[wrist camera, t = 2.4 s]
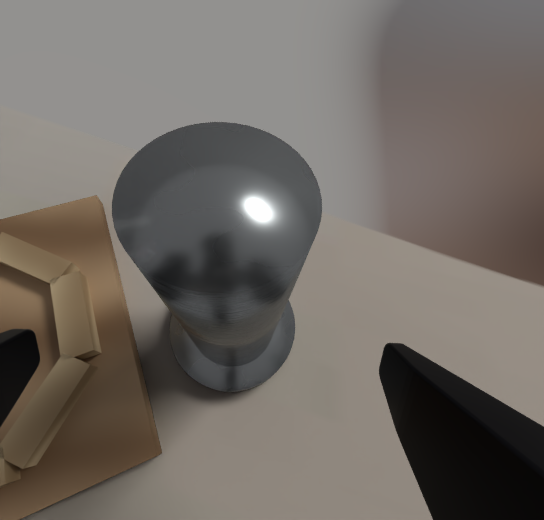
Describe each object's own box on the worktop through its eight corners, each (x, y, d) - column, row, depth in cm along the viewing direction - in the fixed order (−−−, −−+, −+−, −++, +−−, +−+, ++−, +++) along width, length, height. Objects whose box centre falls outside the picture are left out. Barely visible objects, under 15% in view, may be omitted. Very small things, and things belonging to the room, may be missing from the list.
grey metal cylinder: (218, 421, 17) (162, 453, 5) (151, 318, 19) (-5, 163, 7) (315, 339, 19) (436, 226, 7) (245, 255, 21) (250, 60, 9)
